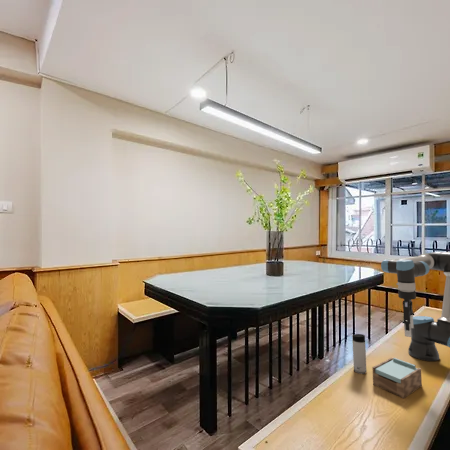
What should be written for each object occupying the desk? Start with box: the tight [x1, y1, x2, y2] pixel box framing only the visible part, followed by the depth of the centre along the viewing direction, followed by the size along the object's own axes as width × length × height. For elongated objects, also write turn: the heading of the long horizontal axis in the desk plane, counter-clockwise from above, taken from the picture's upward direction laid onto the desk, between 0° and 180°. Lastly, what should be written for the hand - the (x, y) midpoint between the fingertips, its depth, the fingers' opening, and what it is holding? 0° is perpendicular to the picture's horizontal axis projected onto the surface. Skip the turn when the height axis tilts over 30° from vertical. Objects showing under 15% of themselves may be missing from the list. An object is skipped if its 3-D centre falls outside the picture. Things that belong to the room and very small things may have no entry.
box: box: [371, 357, 423, 400], centre depth 135 cm, size 18×14×8 cm
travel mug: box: [352, 333, 368, 375], centre depth 149 cm, size 6×7×20 cm
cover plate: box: [375, 357, 418, 384], centre depth 135 cm, size 17×12×4 cm
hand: (409, 332), depth 138 cm, fingers open, 13 cm apart
